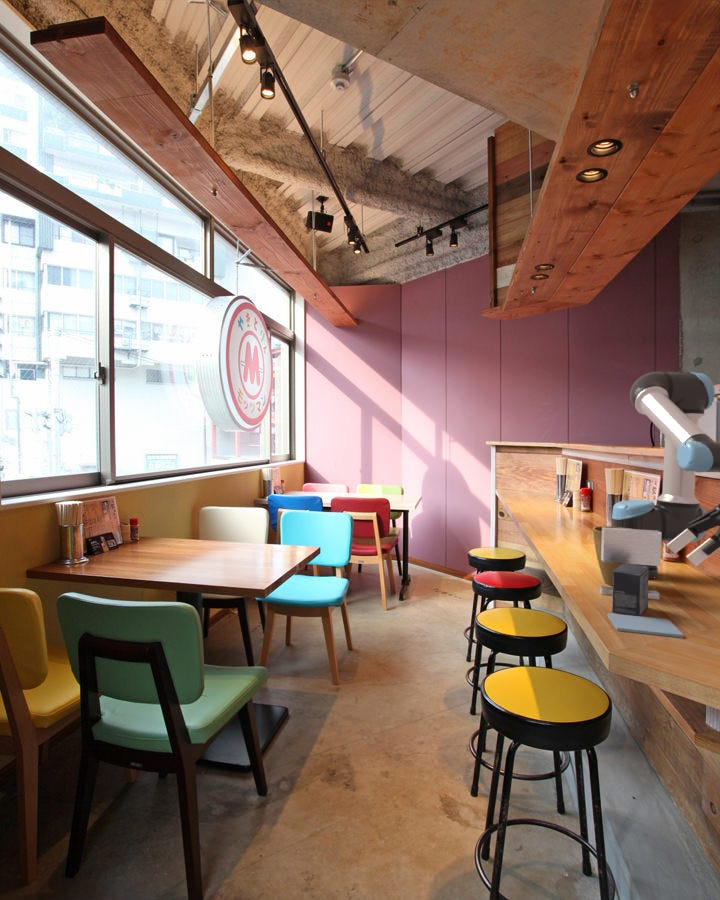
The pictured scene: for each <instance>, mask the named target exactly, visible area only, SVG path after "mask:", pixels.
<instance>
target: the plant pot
mask: <svg viewBox="0 0 720 900" xmlns="http://www.w3.org/2000/svg"><path fill="white" fill-rule="evenodd" d="M602 527H607V528H622V527H612V526H609V525H608V526H607V525H606V526H605V525H602V526H594V527H592V530H593V531H592V532H593V533H592V534H593V541H594V548H595V553H596V558H597V561H598V562H597V563H598V566H599V570H600V573H601V576H602V578H603V579H602V580H603V581H604V584H606V585H608V584H609V585H608V586H611V585H613V571H614V570H615V569H617V568H618V567H619V566H620V565H622V564H625V563H614V562H603V561H602V560H601V543H602ZM623 529H630V528H623ZM635 565H637V566H642V565H640V564H635Z"/></svg>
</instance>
